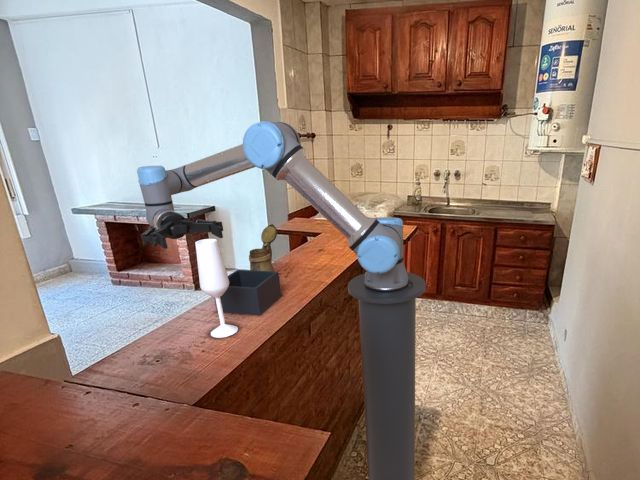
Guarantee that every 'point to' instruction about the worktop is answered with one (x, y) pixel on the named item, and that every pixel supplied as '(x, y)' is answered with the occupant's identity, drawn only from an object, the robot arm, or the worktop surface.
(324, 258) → the worktop surface
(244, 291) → the dark grey open box
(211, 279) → the champagne flute
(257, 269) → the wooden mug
